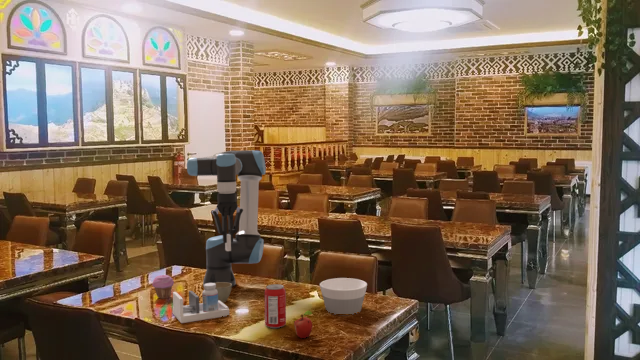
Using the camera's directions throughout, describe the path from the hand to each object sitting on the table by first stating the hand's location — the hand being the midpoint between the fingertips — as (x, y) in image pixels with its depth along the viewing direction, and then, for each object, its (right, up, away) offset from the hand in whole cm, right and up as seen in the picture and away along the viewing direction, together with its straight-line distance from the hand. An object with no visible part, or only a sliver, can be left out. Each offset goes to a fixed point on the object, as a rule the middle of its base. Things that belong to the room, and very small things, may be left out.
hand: (228, 250), depth 233 cm
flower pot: (-6, -24, +14) cm, 28 cm away
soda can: (+21, -26, -18) cm, 38 cm away
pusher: (-14, -24, -6) cm, 29 cm away
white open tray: (-10, -25, -4) cm, 27 cm away
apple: (+32, -27, -31) cm, 52 cm away
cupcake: (-32, -23, +21) cm, 44 cm away
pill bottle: (-7, -25, -2) cm, 25 cm away
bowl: (+47, -24, +1) cm, 53 cm away
